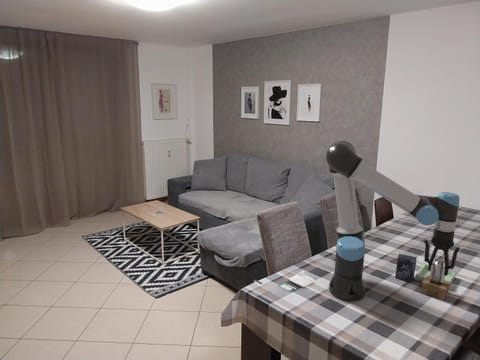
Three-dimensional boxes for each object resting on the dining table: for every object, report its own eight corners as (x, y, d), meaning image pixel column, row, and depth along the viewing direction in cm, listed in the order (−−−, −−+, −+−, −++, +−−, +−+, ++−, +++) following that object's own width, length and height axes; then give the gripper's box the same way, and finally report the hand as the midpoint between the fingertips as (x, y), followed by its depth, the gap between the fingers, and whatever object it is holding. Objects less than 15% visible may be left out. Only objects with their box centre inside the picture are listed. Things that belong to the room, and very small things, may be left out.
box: (394, 278, 164) (397, 257, 162) (396, 273, 169) (398, 253, 167) (413, 282, 160) (416, 261, 158) (414, 277, 165) (416, 256, 163)
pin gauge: (437, 295, 150) (442, 263, 147) (429, 292, 152) (434, 260, 149) (439, 292, 152) (444, 260, 149) (431, 289, 154) (436, 258, 151)
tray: (447, 290, 154) (448, 284, 154) (414, 279, 163) (415, 274, 162) (454, 277, 166) (455, 272, 165) (423, 268, 174) (424, 263, 174)
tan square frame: (443, 300, 146) (445, 289, 145) (420, 292, 152) (422, 282, 151) (448, 292, 153) (450, 281, 151) (426, 285, 158) (427, 275, 157)
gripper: (469, 231, 143) (460, 283, 148) (424, 222, 154) (418, 270, 159) (466, 236, 138) (457, 290, 143) (420, 226, 148) (413, 276, 153)
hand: (436, 279), depth 151 cm, fingers open, 4 cm apart
